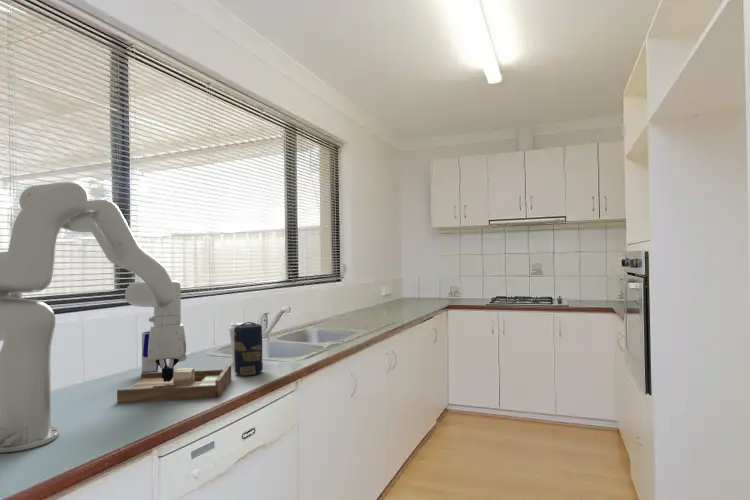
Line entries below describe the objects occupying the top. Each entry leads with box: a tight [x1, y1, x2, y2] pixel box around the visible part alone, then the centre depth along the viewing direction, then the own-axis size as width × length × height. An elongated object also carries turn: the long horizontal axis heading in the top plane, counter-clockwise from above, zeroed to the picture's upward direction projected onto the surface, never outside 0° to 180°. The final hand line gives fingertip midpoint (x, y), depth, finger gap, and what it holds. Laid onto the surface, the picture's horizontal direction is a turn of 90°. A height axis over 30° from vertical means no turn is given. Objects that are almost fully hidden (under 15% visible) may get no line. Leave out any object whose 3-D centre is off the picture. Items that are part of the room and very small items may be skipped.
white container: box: [228, 321, 251, 365], centre depth 180 cm, size 10×10×15 cm
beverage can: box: [141, 330, 159, 373], centre depth 162 cm, size 5×5×15 cm
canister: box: [234, 321, 263, 376], centre depth 162 cm, size 10×10×18 cm
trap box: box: [116, 364, 232, 404], centre depth 142 cm, size 20×28×5 cm
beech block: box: [173, 367, 195, 386], centre depth 143 cm, size 5×5×4 cm
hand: (167, 380), depth 142 cm, fingers closed
